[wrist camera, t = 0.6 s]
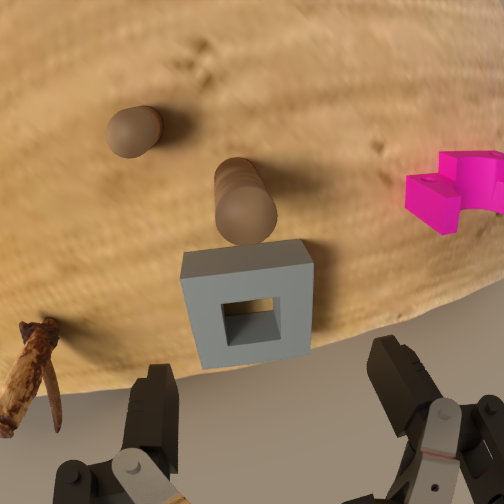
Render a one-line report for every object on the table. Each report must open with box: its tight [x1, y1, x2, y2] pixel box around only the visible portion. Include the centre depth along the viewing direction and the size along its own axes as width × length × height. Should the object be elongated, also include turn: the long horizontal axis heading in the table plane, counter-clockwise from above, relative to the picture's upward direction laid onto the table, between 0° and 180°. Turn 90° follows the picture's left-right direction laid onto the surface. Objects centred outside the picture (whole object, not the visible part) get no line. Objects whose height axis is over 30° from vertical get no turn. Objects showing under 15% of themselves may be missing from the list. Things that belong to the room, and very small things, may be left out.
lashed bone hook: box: [0, 318, 62, 438], centre depth 28 cm, size 9×5×18 cm, turn 17°
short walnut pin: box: [106, 106, 163, 158], centre depth 24 cm, size 4×4×4 cm
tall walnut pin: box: [214, 158, 277, 246], centre depth 25 cm, size 4×4×10 cm
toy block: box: [405, 151, 504, 235], centre depth 29 cm, size 15×6×8 cm, turn 98°
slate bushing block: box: [180, 239, 314, 369], centre depth 33 cm, size 12×12×5 cm
